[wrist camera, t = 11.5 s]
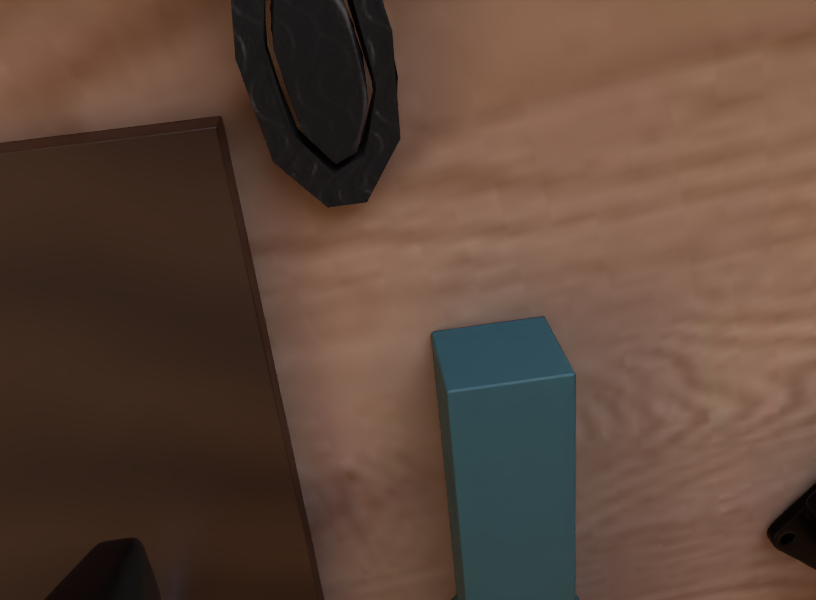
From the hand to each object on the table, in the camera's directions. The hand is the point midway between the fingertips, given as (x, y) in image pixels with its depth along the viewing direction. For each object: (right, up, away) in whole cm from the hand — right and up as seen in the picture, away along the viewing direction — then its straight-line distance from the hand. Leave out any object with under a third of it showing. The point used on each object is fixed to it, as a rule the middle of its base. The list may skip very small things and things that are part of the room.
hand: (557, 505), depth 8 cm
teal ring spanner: (+1, -5, +16) cm, 17 cm away
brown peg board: (-10, -3, +14) cm, 17 cm away
